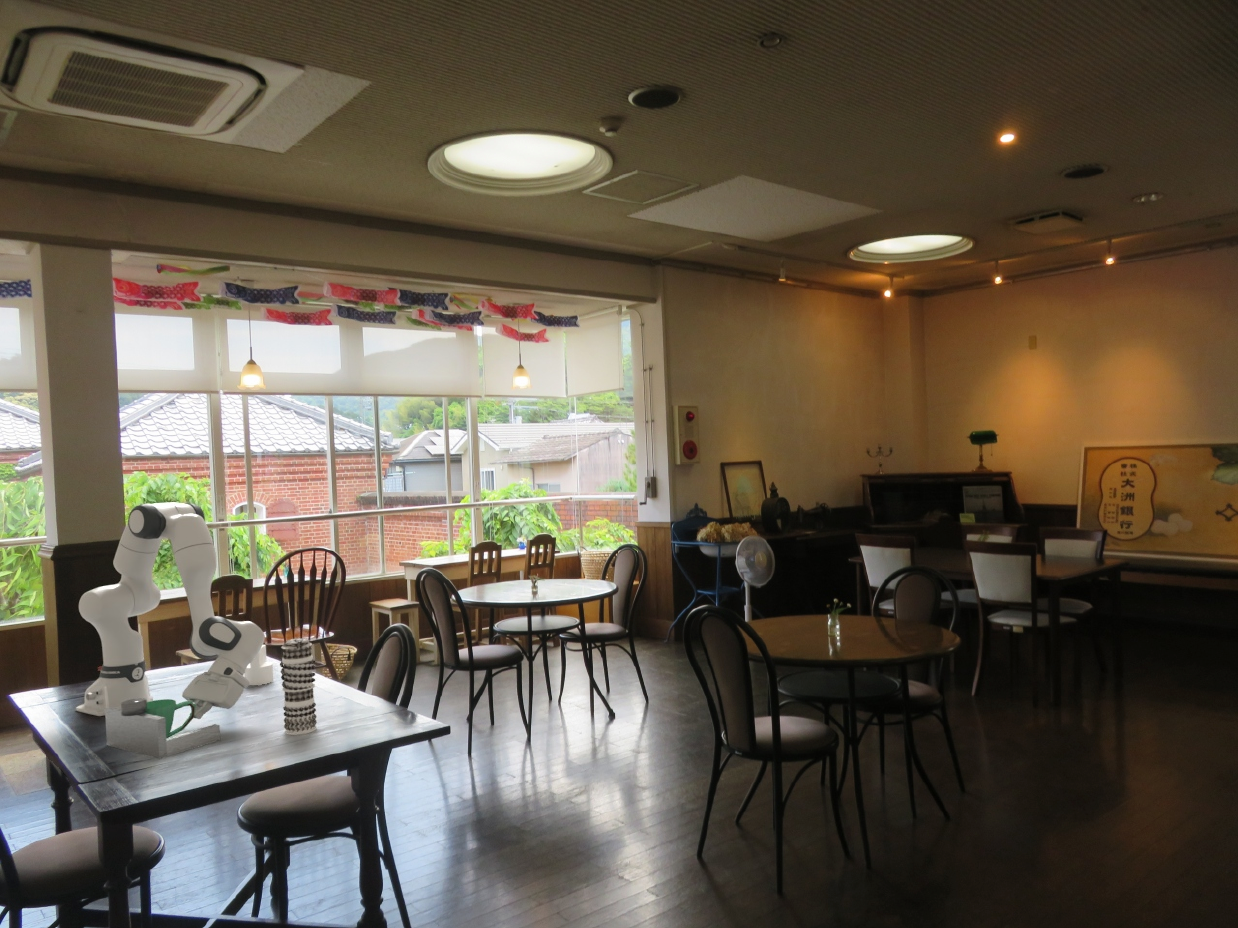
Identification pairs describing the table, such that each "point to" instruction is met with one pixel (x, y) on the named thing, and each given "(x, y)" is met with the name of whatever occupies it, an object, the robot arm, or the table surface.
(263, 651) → the base with upright slab
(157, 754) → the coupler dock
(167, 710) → the mug
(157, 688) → the table surface
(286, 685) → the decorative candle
